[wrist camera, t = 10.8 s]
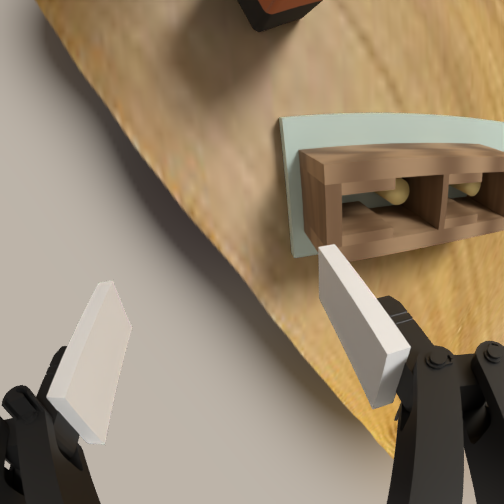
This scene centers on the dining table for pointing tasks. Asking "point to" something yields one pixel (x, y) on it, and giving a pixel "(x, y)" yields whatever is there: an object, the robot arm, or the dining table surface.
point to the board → (373, 132)
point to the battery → (275, 11)
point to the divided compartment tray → (416, 205)
